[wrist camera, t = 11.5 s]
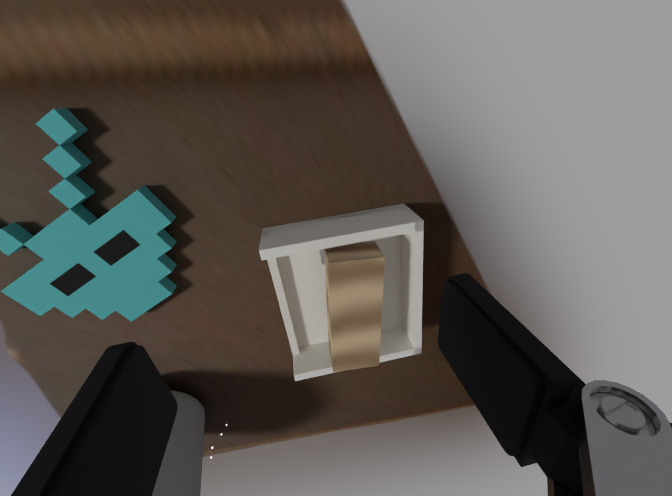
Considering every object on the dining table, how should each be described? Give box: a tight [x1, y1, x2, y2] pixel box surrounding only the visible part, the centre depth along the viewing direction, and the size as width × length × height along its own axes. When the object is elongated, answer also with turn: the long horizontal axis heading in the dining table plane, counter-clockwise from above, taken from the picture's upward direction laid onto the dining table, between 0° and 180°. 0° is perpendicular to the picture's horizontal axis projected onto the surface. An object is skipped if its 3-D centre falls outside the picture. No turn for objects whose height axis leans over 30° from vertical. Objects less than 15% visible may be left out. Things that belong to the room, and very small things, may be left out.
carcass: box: [259, 204, 424, 381], centre depth 39 cm, size 20×18×6 cm
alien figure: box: [0, 108, 177, 321], centre depth 33 cm, size 20×2×20 cm
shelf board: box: [324, 241, 385, 372], centre depth 36 cm, size 16×6×4 cm, turn 2°
